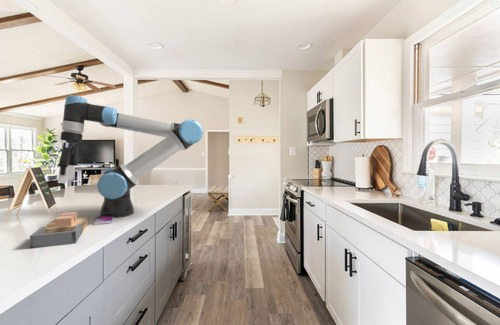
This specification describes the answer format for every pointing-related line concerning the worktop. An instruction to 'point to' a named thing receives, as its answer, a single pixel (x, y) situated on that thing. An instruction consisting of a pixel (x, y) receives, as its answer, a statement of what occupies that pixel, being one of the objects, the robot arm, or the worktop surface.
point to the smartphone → (102, 220)
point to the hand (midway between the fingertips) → (65, 181)
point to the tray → (54, 237)
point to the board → (52, 229)
